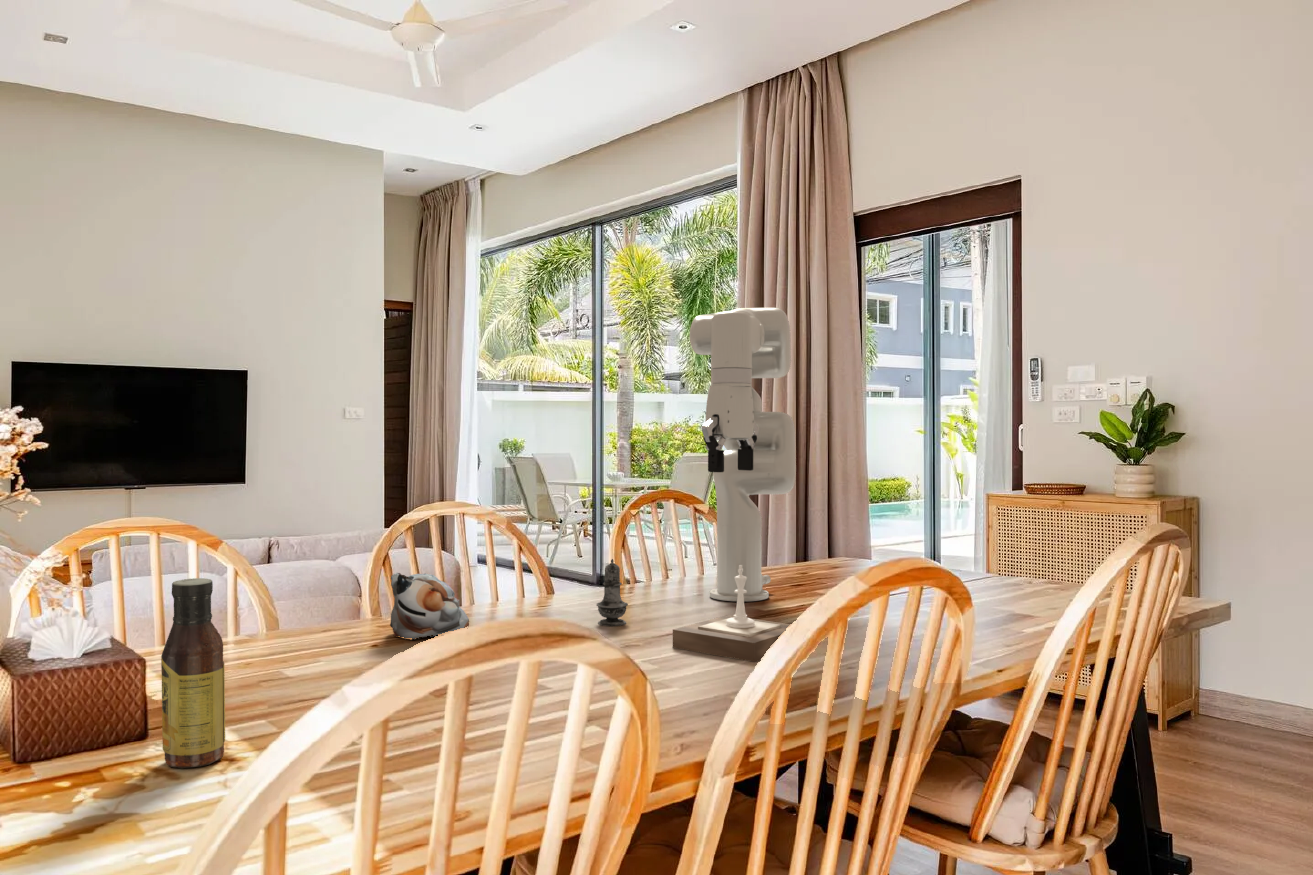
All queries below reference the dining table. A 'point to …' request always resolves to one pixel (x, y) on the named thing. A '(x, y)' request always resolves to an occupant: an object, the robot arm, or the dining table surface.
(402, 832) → the dining table surface
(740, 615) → the chess piece
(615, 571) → the salt shaker
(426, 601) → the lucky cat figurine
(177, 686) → the sauce bottle
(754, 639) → the walnut base
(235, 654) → the dining table surface
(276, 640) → the dining table surface
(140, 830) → the dining table surface
